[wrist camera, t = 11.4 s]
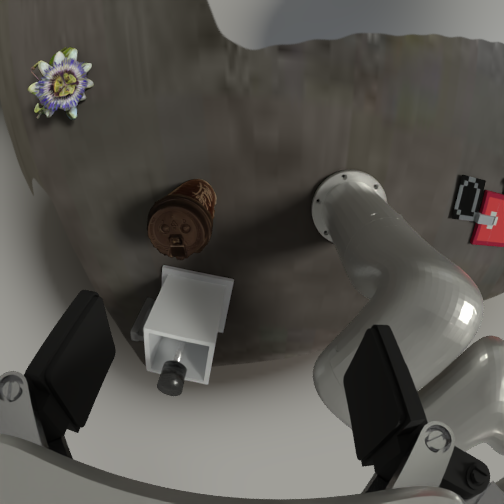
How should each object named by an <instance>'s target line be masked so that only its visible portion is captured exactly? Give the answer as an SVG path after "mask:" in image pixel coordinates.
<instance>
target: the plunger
mask: <svg viewBox="0 0 504 504" xmlns="http://www.w3.org/2000/svg"><path fill="white" fill-rule="evenodd" d="M185 345H186V341H181V340H179V342H178V346H177V349H176V352H175V356H174V359H173V360H170V361H166V362H165V363H164V365H163V368H162V371H161V374H160V377H159V381H158V384H157V388H158V389H159V390H160V391H161V392H162V393H164V394H167V395H170V396H178V395H180V394H181V393H182V388H183V384H184V380H185V376H186V372H187V369H186V367H185V366H184V365H183V364H182V363H181V360H182V356H183V352H184V348H185Z"/></svg>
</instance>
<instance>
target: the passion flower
mask: <svg viewBox="0 0 504 504" xmlns="http://www.w3.org/2000/svg"><path fill="white" fill-rule="evenodd" d="M77 54H78V51H77V49H74V48H71V47H70V48H68V49H67V47H66V48H63V49H62V50H61V51H59V52H58V53H56V54H54V56H53V57H52V58H51V60H50V62H49V64H47V63H45V62H44V61H39V62H38V63H37V64H35V65H34V66H33V67H32V68H31V72H32V70H35V68H36V67H37V65H38V67H39V71H40V73H41V74H42V76H43V77H44V78H42V81H40V80H39V79H38V78H37V77H36V76H35V74H34V73H33V72H32V74H33V75H34V76H35V77H36V78H37V79H38V81H39V82H36V83H34V84H32V85H30V86H29V88H28V89H27V90H28V91H29V92H30V93H32V94H35V95H36V96H37V98H38V100H40V105H43V106H42V108H39V103H37V105H36V107H35V110H34V112H35V113H38V116H37V118H39V117H40V116H41V115H42V114H45V115H46V117H47V118H50V117H51V116H52V115H53V114H54V112H55V111H56V110H57V109H62V110H64V111H66V114H67V116H68V117H69V118H70V119H72V120H75V119H76V118H77V108H76V106H77V105H78V102H80V101H83V100H85V99H86V95H85V90H86V89H87V88H91V87H93V86H94V84H93V82H92V81H91V80H89V79H87V77H86V74H87V72H88V71H89V70H90V69H91V67H92V64H90V63H84V62H83V63H82V62H81V63H79V62H78V61H77ZM42 110H43V111H42Z"/></svg>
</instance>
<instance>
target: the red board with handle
mask: <svg viewBox="0 0 504 504" xmlns="http://www.w3.org/2000/svg"><path fill="white" fill-rule="evenodd" d="M484 186H485V180H481V179H477V178H474V177H470V176H465V175H462V179H461V184H460V188H459V192H458V196H457V201H456V204H455V208H454V212H453V216H452V218H453V219H460V220H468V221H475V222H476V225H475V228H474V231H473V234H472V237H471V240H470V243H471V244H475V245H487V246H499V247H504V194H500V193H496V192H492V191H488V190H485V192H484V196H483V200H482V204H481V207H480V211H479V212H478V209H479V205H480V202H481V198H482V194H483V190H484Z"/></svg>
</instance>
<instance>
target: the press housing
mask: <svg viewBox="0 0 504 504" xmlns="http://www.w3.org/2000/svg"><path fill="white" fill-rule="evenodd" d="M233 283H234V279H231V278H226V277H221V276H216V275H211V274H206V273H201V272H196V271H191V270H186V269H181V268H176V267H172V266H167V265H163V267H162V288H161V290H160V293H159V295H158V297H157V299H156V301H154V300H153V299H152V298H148V297H147V299H146V301H145V303H144V305H143V307H142V309H141V311H140V313H139V315H138V317H137V319H136V321H135V323H134V325H133V327H132V329H131V331H130V332H131V340H134V341H138V340H140V341H144V345H145V358H146V370H147V371H149V372H154V373H158V374H161V371H162V368H163V365H164V363H165V362H166V361H170V360H173V359H174V356H175V352H176V349H177V346H178V342H179V340H181V341H186V345H185V348H184V352H183V356H182V360H181V363H182V364H183V365H184V366H185V367H186V369H187V372H186V376H185V380H188V381H192V382H197V383H202V384H208V382H209V377H210V371H211V366H212V360H213V355H214V349H215V344H216V338H217V332H221V333H223V331H224V326H225V322H226V317H227V312H228V307H229V302H230V297H231V293H232V288H233ZM143 329H144V331H143Z"/></svg>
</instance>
